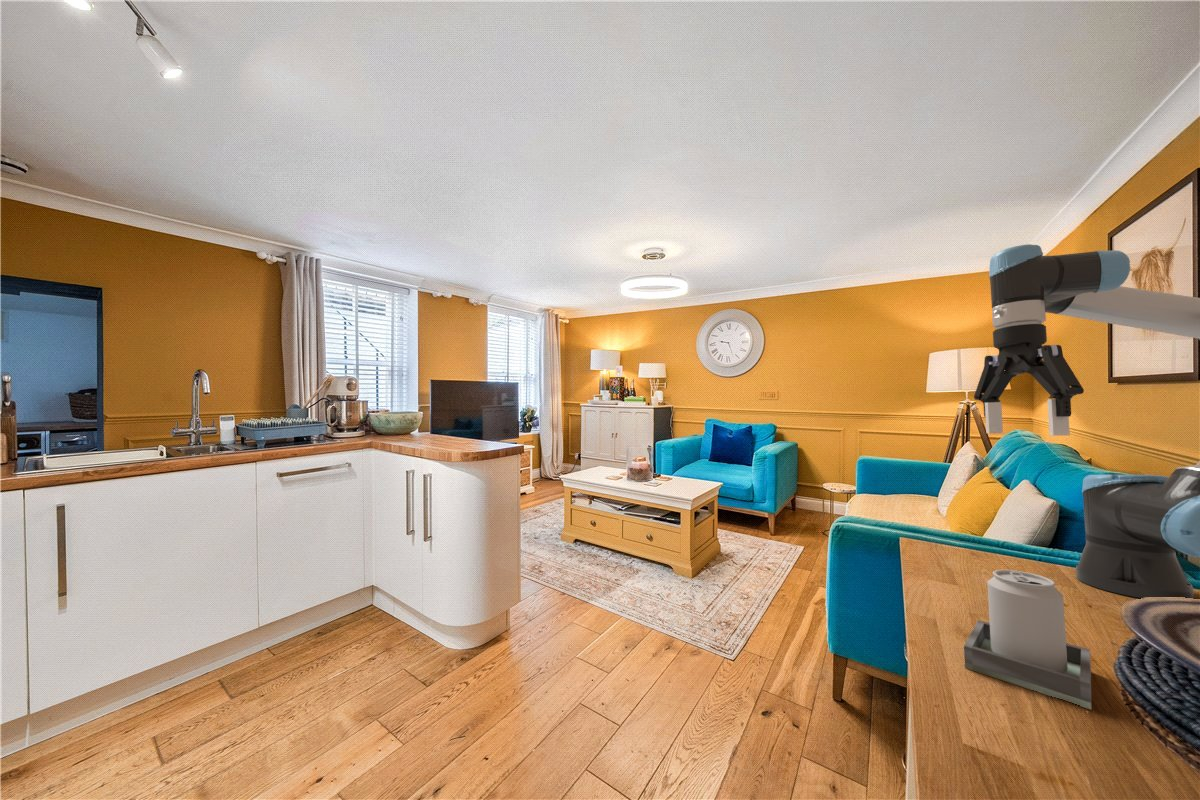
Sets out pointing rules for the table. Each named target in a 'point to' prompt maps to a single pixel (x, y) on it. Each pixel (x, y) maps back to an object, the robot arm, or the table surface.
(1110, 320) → the robot arm
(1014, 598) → the can
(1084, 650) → the tray
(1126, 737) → the table surface
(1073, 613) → the table surface
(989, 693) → the table surface
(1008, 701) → the table surface
